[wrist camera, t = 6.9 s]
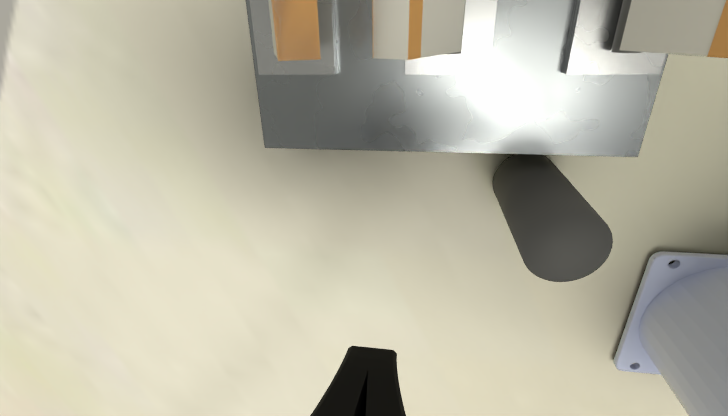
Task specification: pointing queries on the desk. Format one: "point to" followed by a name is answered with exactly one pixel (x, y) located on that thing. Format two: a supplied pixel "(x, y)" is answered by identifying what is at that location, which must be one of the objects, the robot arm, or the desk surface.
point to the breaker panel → (462, 84)
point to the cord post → (550, 219)
